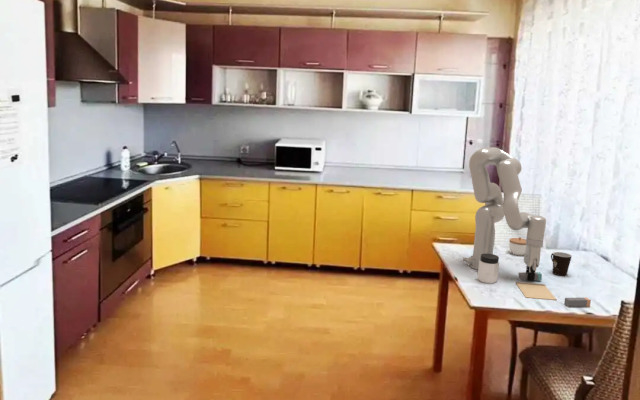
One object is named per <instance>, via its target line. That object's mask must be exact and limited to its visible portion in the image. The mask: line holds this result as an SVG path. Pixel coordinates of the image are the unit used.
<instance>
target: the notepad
mask: <svg viewBox="0 0 640 400" xmlns="http://www.w3.org/2000/svg"><path fill="white" fill-rule="evenodd" d="M515 284H516V286H517V287H518V289H519V290H520V291H521V293H522V294H523V295H524V297H525V299H536V300H539V299H540V300H548V301H549V300H550V301H557V297H555V296H554V295H553V293H552V292H551V291H550V289H549V288H548V287H547V286H546V284H545V283H543V284H542V283H533V282H531V283H530V282H522V281H521V282H519V281H515Z"/></svg>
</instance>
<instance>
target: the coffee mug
mask: <svg viewBox="0 0 640 400" xmlns="http://www.w3.org/2000/svg"><path fill="white" fill-rule="evenodd" d="M572 256H573V255H572V254H570V253H566V252H561V251H554V252H553V253H551V254H550V260H551V262H552V274H553V275H554V276H558V277H559V276H560V277H566V276H567V275H568V271H569V267H570V263H571V260H572Z"/></svg>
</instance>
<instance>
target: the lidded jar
mask: <svg viewBox="0 0 640 400" xmlns="http://www.w3.org/2000/svg"><path fill="white" fill-rule="evenodd" d="M508 244H509V245H508V246H509V250H510V252H511V253H512V254H513V255H514V254H515V256H521V257H522V256H524V254H525V249H526V238H523V237H511V238H509V243H508Z"/></svg>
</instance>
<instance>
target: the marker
mask: <svg viewBox="0 0 640 400" xmlns="http://www.w3.org/2000/svg"><path fill="white" fill-rule="evenodd" d="M527 276H528V273H526V271H525V272H524V271H523V272H518V276H517V278H518V279H519V281H528V280H527ZM542 278H543V274H542V273H541V272H539V271H536V272H535V279H534V281H542Z"/></svg>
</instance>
